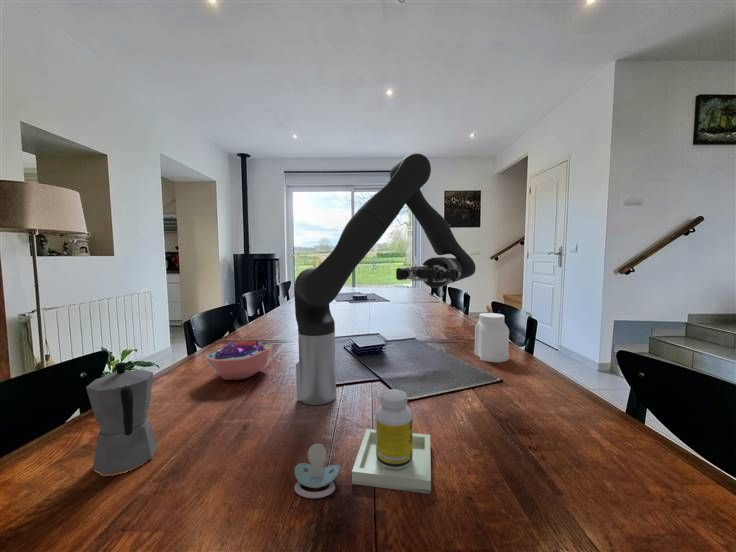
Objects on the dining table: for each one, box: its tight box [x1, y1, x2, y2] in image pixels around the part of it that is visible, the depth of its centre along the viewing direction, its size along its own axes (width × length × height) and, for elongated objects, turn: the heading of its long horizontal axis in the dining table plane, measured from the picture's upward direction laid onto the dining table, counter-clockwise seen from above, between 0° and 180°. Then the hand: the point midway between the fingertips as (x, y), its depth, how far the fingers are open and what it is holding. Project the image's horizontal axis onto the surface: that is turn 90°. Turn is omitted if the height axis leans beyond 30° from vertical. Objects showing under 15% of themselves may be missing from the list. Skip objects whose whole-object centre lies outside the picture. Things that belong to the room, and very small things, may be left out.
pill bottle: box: [374, 388, 413, 469], centre depth 55 cm, size 6×6×12 cm
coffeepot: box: [85, 362, 158, 475], centre depth 55 cm, size 15×9×18 cm, turn 43°
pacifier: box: [293, 442, 341, 499], centre depth 50 cm, size 7×6×6 cm
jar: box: [474, 312, 510, 363], centre depth 110 cm, size 12×10×15 cm
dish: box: [351, 428, 432, 495], centre depth 55 cm, size 12×12×2 cm
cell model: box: [204, 340, 273, 381], centre depth 95 cm, size 17×20×11 cm
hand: (416, 275), depth 67 cm, fingers open, 8 cm apart
